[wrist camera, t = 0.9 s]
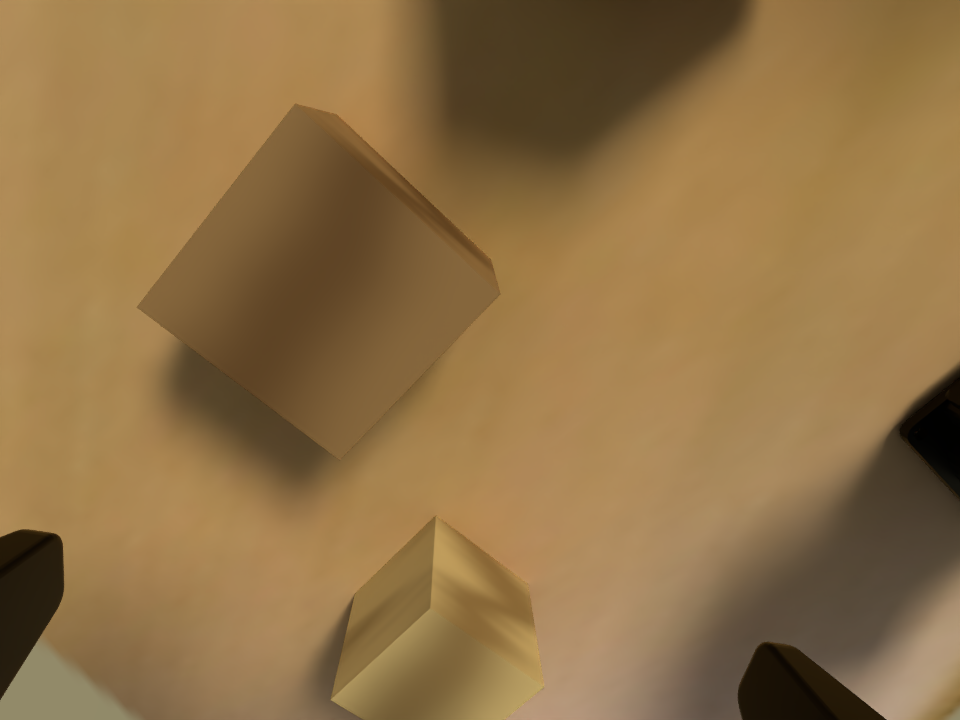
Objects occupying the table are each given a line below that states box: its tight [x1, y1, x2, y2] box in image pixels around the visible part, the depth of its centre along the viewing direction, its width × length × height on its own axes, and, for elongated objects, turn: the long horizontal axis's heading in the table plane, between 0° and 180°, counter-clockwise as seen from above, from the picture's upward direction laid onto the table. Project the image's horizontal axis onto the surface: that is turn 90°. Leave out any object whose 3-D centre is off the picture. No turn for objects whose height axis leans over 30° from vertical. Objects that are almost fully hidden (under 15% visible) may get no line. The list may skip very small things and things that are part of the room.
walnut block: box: [137, 104, 500, 460], centre depth 17 cm, size 6×6×5 cm
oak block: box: [331, 516, 544, 720], centre depth 22 cm, size 5×5×5 cm
